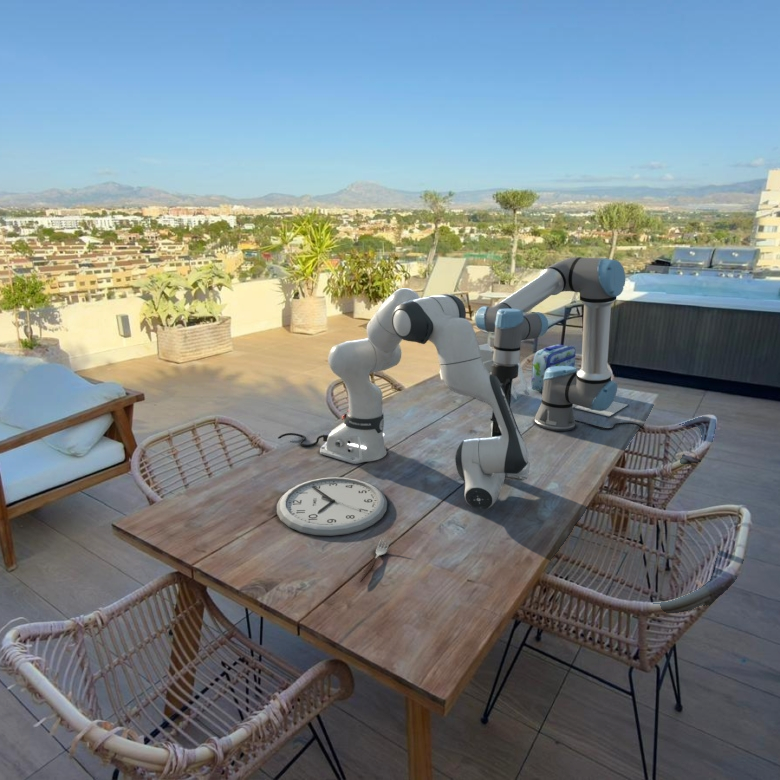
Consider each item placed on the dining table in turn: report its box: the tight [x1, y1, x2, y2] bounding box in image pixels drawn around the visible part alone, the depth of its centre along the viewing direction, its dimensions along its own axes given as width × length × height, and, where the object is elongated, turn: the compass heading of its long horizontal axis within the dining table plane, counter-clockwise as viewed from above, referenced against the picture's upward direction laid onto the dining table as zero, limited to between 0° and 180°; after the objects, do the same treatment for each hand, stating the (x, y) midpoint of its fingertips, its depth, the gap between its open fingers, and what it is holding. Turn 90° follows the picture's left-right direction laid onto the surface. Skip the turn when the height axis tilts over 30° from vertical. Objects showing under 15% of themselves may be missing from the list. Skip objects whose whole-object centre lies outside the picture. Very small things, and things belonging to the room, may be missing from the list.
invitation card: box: [573, 400, 629, 418], centre depth 226 cm, size 21×1×15 cm
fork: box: [359, 536, 392, 583], centre depth 118 cm, size 3×16×2 cm, turn 160°
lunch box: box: [530, 344, 577, 392], centre depth 247 cm, size 26×11×21 cm, turn 134°
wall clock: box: [276, 476, 388, 537], centre depth 142 cm, size 30×2×30 cm
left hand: (497, 454), depth 160 cm, fingers closed on jar, 5 cm apart
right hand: (499, 436), depth 158 cm, fingers open, 7 cm apart
